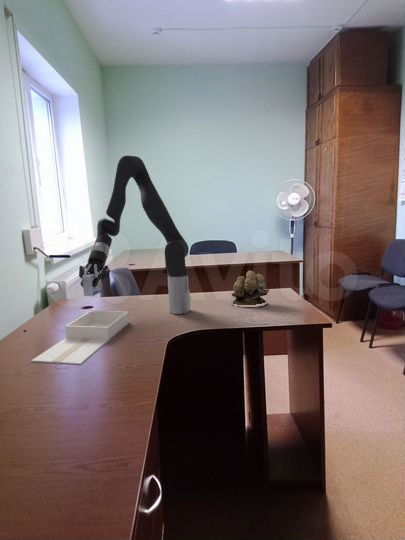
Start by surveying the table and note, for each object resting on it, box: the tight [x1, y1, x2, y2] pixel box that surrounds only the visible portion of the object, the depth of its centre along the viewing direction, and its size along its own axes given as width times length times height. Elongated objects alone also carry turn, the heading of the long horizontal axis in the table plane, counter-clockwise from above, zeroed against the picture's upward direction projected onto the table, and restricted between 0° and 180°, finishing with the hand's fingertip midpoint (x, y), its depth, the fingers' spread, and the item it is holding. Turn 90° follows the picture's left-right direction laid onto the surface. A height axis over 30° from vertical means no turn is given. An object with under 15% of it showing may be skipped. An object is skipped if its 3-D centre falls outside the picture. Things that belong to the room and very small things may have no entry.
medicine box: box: [81, 274, 103, 297], centre depth 145 cm, size 8×4×9 cm, turn 168°
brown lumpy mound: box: [231, 270, 270, 305], centre depth 160 cm, size 18×12×17 cm, turn 88°
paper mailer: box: [31, 310, 130, 365], centre depth 123 cm, size 17×38×5 cm, turn 169°
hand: (88, 286), depth 142 cm, fingers closed on medicine box, 4 cm apart
